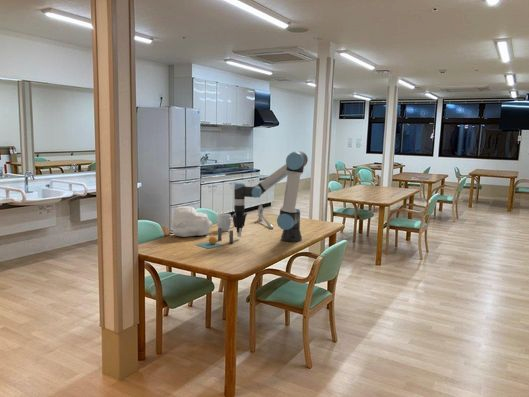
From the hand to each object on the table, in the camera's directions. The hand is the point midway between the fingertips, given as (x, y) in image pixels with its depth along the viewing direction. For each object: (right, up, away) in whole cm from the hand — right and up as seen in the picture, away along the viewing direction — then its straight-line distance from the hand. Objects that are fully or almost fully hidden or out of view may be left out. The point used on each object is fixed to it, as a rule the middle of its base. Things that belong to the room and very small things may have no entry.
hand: (239, 236), depth 319 cm
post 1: (-14, -2, -4) cm, 15 cm away
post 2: (-5, -4, -13) cm, 15 cm away
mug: (-13, +2, +28) cm, 31 cm away
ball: (-17, -1, -16) cm, 24 cm away
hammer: (+20, +5, +56) cm, 60 cm away
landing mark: (-19, -4, -19) cm, 27 cm away
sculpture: (-36, 0, +12) cm, 38 cm away
